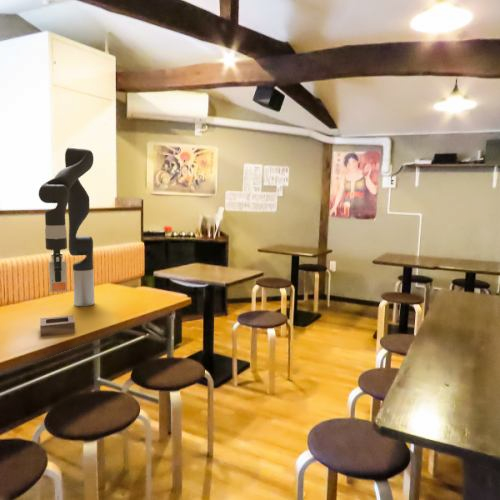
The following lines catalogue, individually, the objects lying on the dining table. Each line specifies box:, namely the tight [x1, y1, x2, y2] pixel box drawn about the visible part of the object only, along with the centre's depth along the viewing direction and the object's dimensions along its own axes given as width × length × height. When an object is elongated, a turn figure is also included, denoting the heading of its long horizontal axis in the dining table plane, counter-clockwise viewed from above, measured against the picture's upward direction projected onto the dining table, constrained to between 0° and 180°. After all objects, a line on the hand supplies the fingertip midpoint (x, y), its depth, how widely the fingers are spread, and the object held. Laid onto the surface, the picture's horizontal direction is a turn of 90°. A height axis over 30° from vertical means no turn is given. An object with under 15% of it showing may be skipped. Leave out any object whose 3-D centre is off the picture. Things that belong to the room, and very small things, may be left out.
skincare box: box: [48, 259, 68, 294], centre depth 170 cm, size 6×4×12 cm
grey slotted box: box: [39, 314, 76, 337], centre depth 171 cm, size 11×12×4 cm
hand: (57, 280), depth 170 cm, fingers closed on skincare box, 4 cm apart
